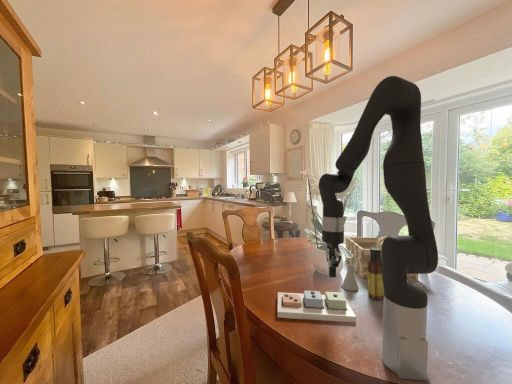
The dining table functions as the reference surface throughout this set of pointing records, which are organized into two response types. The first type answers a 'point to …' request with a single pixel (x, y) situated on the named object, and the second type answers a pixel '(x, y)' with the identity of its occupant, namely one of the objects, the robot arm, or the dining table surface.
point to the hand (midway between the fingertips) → (332, 276)
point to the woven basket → (364, 255)
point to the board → (314, 311)
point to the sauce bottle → (375, 275)
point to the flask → (350, 279)
